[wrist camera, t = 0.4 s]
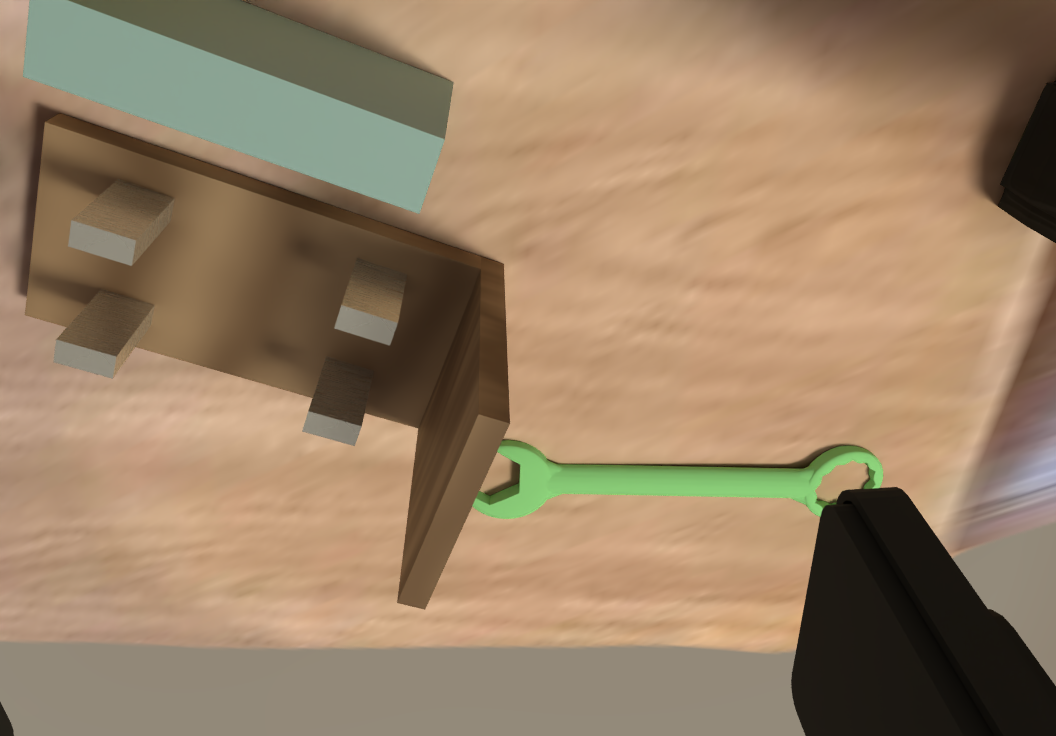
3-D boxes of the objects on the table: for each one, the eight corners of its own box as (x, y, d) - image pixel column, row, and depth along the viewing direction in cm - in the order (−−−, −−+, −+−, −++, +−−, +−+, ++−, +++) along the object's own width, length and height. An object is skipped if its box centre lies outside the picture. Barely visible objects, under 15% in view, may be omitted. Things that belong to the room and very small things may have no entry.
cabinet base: (38, 301, 43) (-136, 474, 31) (59, 113, 38) (-138, 231, 26) (440, 418, 47) (425, 609, 35) (503, 264, 43) (509, 423, 31)
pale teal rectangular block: (121, 29, 36) (23, 76, 29) (131, -43, 35) (30, -14, 27) (432, 144, 40) (419, 213, 32) (453, 82, 38) (444, 139, 30)
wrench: (462, 428, 49) (462, 501, 52) (461, 448, 48) (461, 521, 50) (887, 437, 50) (866, 508, 53) (900, 457, 48) (878, 529, 51)
